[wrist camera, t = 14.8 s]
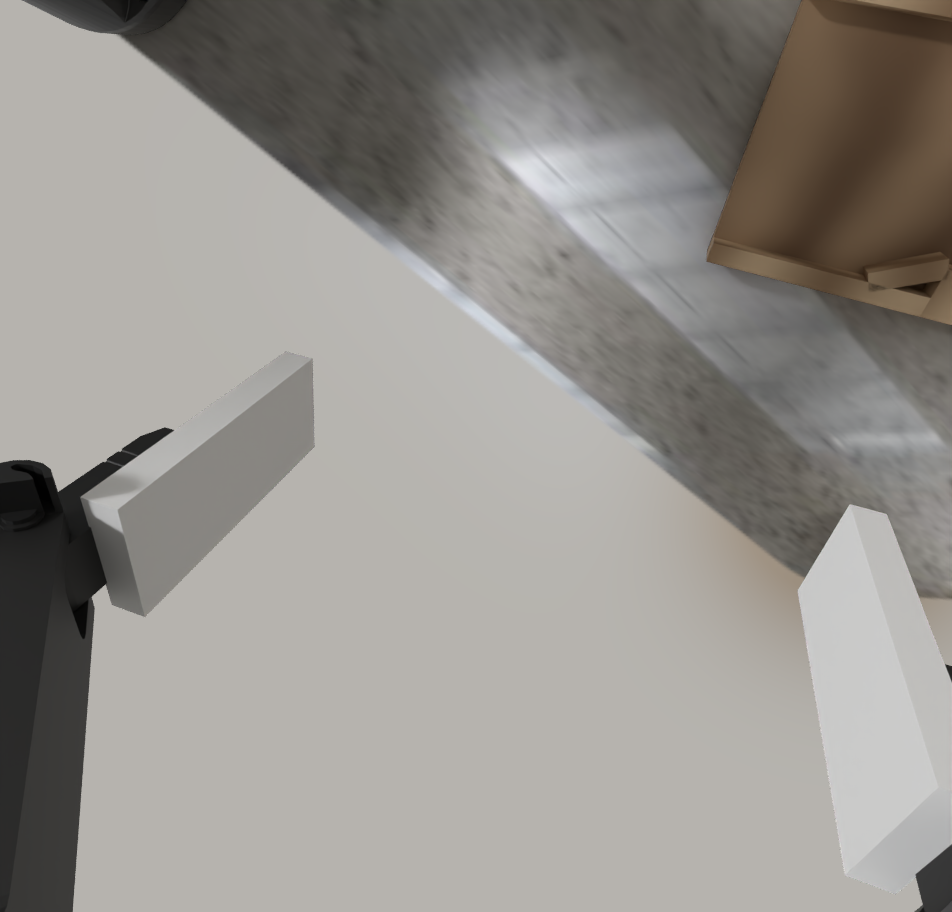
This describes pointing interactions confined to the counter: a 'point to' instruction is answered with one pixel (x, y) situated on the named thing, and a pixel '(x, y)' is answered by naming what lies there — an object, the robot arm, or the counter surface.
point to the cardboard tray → (852, 159)
